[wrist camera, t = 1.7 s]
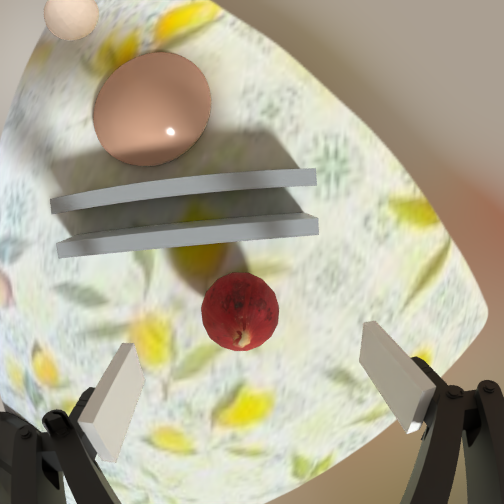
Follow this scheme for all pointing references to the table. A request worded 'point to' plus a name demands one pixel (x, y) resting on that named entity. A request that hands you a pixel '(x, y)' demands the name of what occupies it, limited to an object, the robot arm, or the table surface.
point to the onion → (240, 311)
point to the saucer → (152, 109)
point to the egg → (71, 18)
